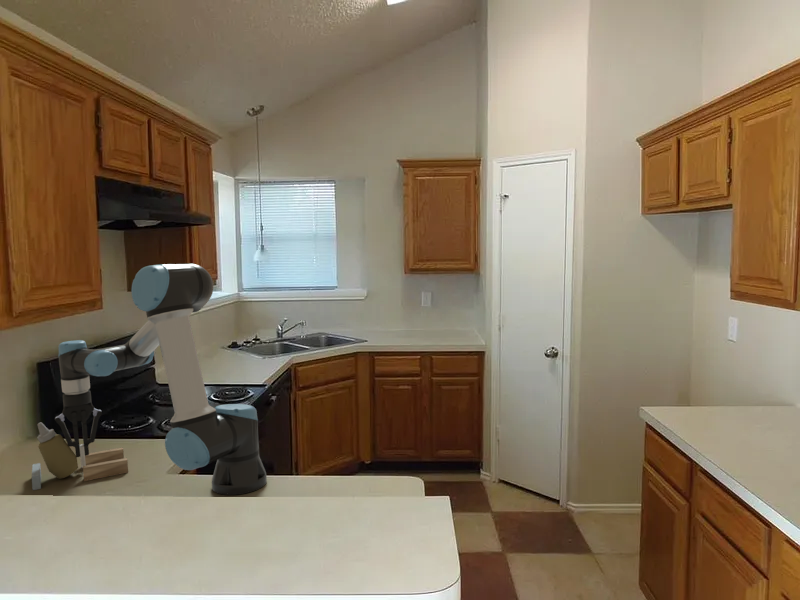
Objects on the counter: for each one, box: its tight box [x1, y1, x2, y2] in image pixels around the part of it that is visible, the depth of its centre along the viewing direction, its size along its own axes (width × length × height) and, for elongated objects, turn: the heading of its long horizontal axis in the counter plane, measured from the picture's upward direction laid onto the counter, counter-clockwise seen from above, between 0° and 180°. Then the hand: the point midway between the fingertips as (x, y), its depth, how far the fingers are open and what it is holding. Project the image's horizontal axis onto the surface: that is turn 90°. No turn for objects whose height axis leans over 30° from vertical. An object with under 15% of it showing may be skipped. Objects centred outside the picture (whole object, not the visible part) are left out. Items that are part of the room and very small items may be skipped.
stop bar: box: [31, 462, 42, 491], centre depth 173 cm, size 12×2×4 cm, turn 31°
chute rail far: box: [81, 447, 125, 470], centre depth 187 cm, size 2×12×4 cm, turn 121°
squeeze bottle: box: [36, 422, 79, 480], centre depth 175 cm, size 8×8×18 cm
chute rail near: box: [82, 457, 129, 482], centre depth 177 cm, size 2×12×4 cm, turn 121°
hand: (83, 465), depth 180 cm, fingers closed
